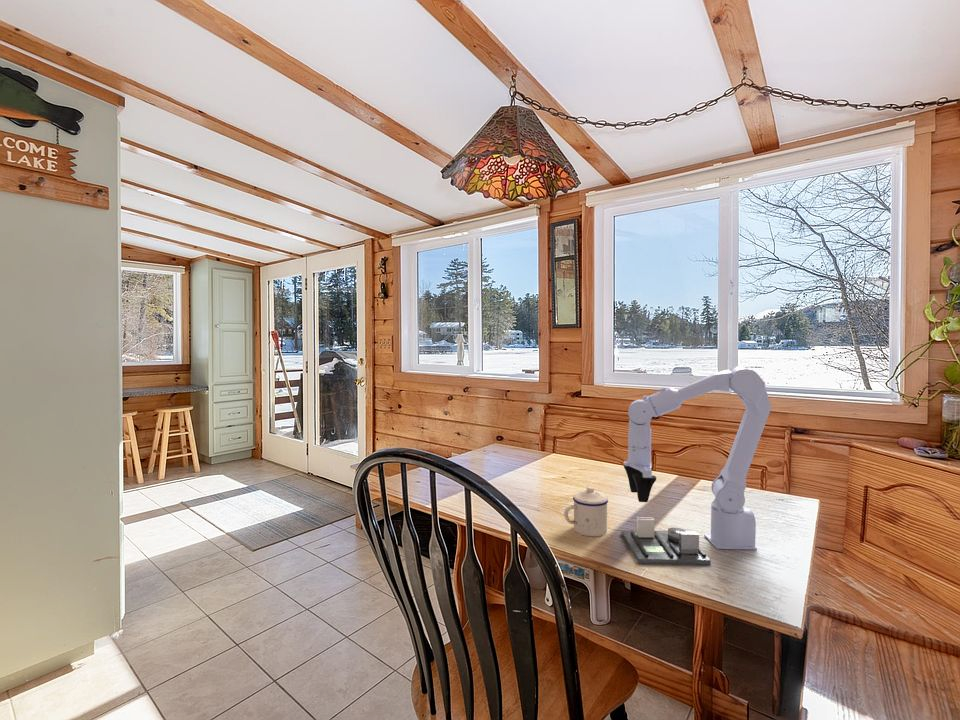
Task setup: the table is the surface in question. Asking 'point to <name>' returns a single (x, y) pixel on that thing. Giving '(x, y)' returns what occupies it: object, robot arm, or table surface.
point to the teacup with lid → (589, 513)
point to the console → (666, 547)
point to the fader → (645, 527)
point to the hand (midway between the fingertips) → (639, 496)
